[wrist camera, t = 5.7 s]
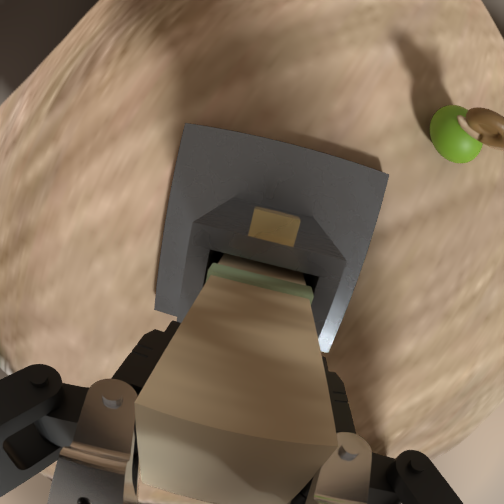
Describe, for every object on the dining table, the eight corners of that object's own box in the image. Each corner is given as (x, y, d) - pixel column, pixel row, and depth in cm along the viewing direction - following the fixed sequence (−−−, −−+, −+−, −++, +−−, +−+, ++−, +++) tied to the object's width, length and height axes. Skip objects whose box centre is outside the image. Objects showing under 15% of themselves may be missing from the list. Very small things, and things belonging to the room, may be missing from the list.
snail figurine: (462, 175, 23) (545, 186, 11) (414, 149, 23) (495, 142, 11) (472, 129, 21) (551, 121, 10) (425, 100, 21) (501, 71, 10)
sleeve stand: (383, 174, 24) (471, 182, 11) (326, 344, 29) (348, 445, 16) (190, 125, 24) (112, 90, 11) (159, 303, 29) (94, 383, 16)
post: (296, 236, 22) (348, 442, 4) (281, 287, 23) (282, 514, 6) (241, 222, 22) (127, 394, 5) (229, 274, 23) (137, 482, 6)
